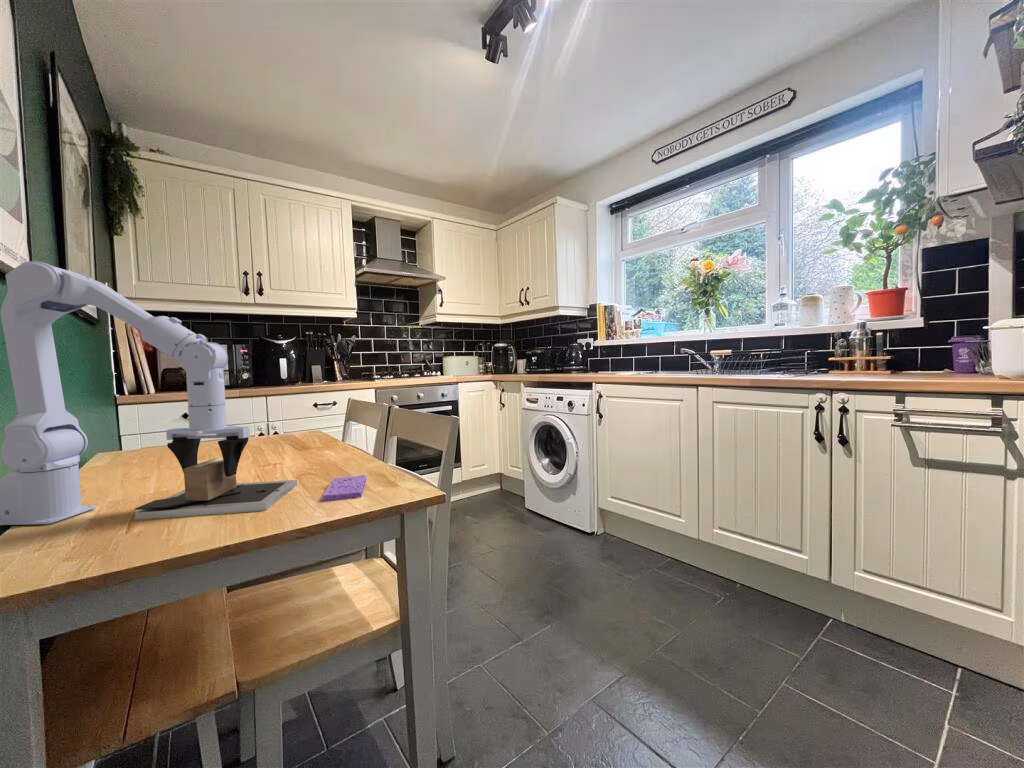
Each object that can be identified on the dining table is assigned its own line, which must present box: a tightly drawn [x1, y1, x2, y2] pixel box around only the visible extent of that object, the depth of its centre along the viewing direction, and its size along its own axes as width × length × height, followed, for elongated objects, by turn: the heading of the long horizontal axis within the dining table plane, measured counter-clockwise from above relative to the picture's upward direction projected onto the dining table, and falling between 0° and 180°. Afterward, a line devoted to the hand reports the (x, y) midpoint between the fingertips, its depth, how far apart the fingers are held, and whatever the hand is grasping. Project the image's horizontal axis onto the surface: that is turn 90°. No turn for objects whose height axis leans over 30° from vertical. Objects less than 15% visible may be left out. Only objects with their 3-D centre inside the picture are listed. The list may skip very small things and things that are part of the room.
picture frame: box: [134, 479, 298, 521], centre depth 79 cm, size 16×3×21 cm
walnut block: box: [183, 457, 237, 501], centre depth 78 cm, size 8×4×6 cm, turn 2°
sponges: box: [322, 474, 368, 502], centre depth 84 cm, size 7×13×2 cm, turn 15°
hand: (211, 475), depth 78 cm, fingers open, 7 cm apart
